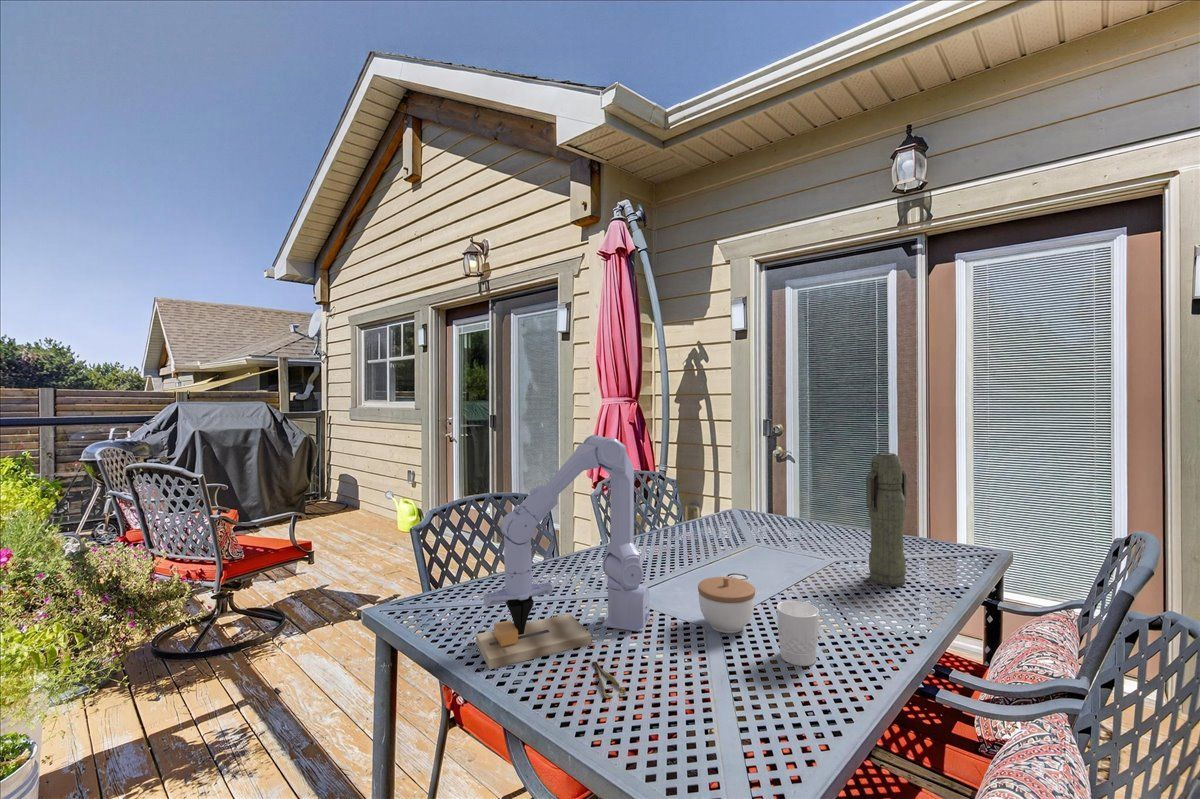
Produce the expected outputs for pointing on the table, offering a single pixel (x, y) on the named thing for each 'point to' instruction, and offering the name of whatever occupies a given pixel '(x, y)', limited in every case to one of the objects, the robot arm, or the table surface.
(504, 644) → the fader knob
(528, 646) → the fader panel
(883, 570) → the olive green statue
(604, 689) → the tongs
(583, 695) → the table surface
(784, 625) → the white cup
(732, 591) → the lidded bowl
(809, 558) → the table surface
